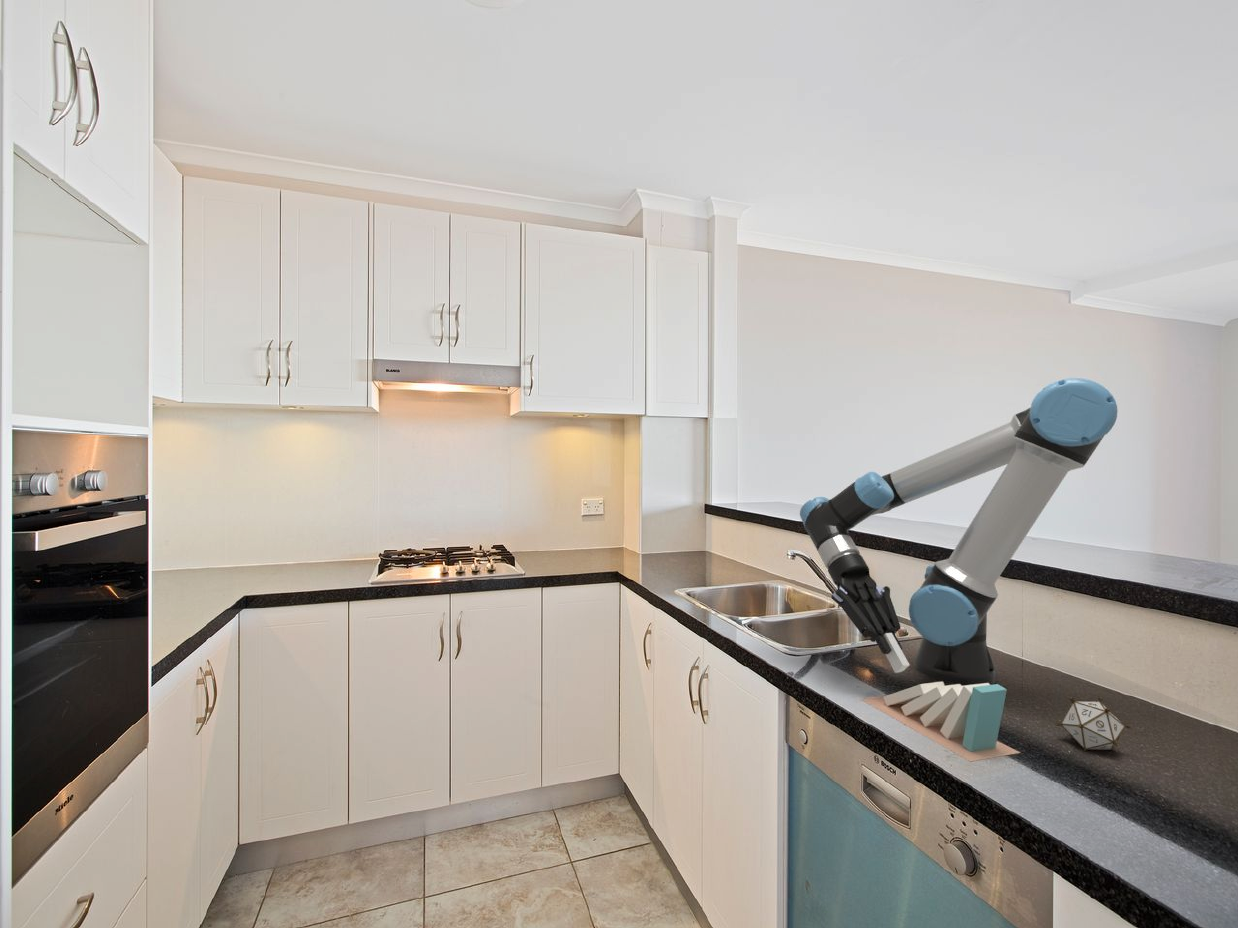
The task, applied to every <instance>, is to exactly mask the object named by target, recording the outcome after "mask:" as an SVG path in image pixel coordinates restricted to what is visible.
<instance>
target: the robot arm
mask: <svg viewBox="0 0 1238 928" xmlns="http://www.w3.org/2000/svg"><path fill="white" fill-rule="evenodd" d="M1030 405H1031V406H1030V407H1029V408H1027V409H1024V410H1023V411H1021V412H1018V413H1016V414H1014V415H1013V416H1012V418H1011V421H1010V422H1008V423H1005V424H1003V425H1001V426H999V427H996V428H994V429H991V430H988V431H986V432H984V433H982V434H979V435H977V436H974V437H972V438H970V439H967V440H965V441H963V442H960V443H958V444H956V445H954V446H951V447H949V448H946V449H944V450H941V451H939V452H937V453H935V454H933V455H930V456H928V457H925V458H923V459H920V460H918V461H916V462H913V463H911V464H908V465H905V466H903V467H902V468H899V469H897V470H894V471H892V472H890V473H888V474H885V475H882V476H881V475H880V474H878V473H877V472H875V471H868V472H867V473H866V474H864V475H862V476H860V477H858V478H857V479H856V480H855V481H854V482H852V483H850V485H849V486H847V487H846V488H844V489H843V490H841V492H839V493H838V494H837V495H835V496H834V497H832V498H831V499H830V498H828V497H824V496H819V497H818V496H817V497H813V499H809V500H808V501H807V500H806V502H805V503H803V505H802V506H801V507H800V510H799V517H800V519H801V522H802V524H803V526H804V529H805V531H806V533H807V534H808V536H809V537H810V539H811V542H812V543H813V546H814V547H815V549H816V551H817V552H818V555H819V557H820V558H821V561H822V562H823V565H824V567H825V568H826V569H827V573H828V574H829V577H830V579H831V580H832V582H833V584H834V585H835V586H836V590H835V591H834V593H832V595H831V600H833V602H835V603H836V604H838V606H840V608H841V609H842V610H843V612H844V613H845V615H846V616H847V617H848V618H849V620H850V621H851V622H852V623H853V625H854V626H855V628H857V630H858V631H859V632H860V635H862V636H863V637H864V638H868V637H869V641H871V642H873V643H874V642H875V643H876V644H877V646H878V648H879V650H880V652H881V654H883V655H885V657H886V658H887V660H888V662H889V664H890V666H891V668H892V669H893V672H894V673H896V674H897V673H903V671H905V670H906V669H907V668H909V666H910V663H909V661H908V659H907V658H906V656H905V654H904V651H903V646H902V644H901V642H900V641H899V639H898V637H897V635H896V634H897V633H898V631H899V630H901V628H902V626H901V623H900V621H899V618H898V616H897V613H896V610H895V607H894V604H893V601H892V599H891V588H890V587H889V586H886V585H885V586H884V587H882V586H879V585H877V582H876V581H875V579H873V578H872V577H871V575H870V568H869V566H868V565H867V562H866V561H865V559H864V558H863V556H862V555H861V552H860V550H859V549H858V547H857V545H856V544H855V542H854V540H853V538H852V537H851V535H850V533H849V531H850V530H851V529H853V528H854V527H856V526H858V524H860V523H862V522H863V521H864V520H866V519H868V518H870V517H871V516H874V515H879V514H884V513H887V512H890V511H892V510H893V509H896V508H898V507H900V506H903V505H905V504H908V503H910V502H912V501H915V500H918V499H920V498H923V497H926V496H929V495H931V494H933V493H937V492H938V491H941V490H943V489H944V490H945V489H947V488H949V487H951V486H954V485H957V484H959V483H962V482H965V481H967V480H970V479H973V478H975V477H977V476H980V475H982V474H985V473H988V472H990V471H993V470H996V469H998V468H1001V467H1005V468H1004V469H1003V471H1002V472H1001V474H1000V476H999V478H998V479H997V480H996V482H995V484H994V485H993V486H992V489H991V490H990V492H989V494H988V495H987V496H986V498H985V500H984V501H983V503H982V505H981V506H980V507H979V510H978V511H977V513H976V514H975V516H974V517H973V519H972V521H971V522H970V524H969V525H968V527H967V529H966V530H965V532H964V534H963V535H962V537H961V538H960V540H959V541H958V543H957V545H956V546H955V548H954V550H953V551H952V553H951V554H950V556H949V558H946V559H943V560H938V561H936V562H935V563H934V565H928V566H927V567H926V568H925V574H924V581H923V582H922V584H921V586H920V588H918V589H917V590H916V591H915V592H914V593H913V594H912V596H911V598H910V600H909V604H908V616H909V619H910V621H911V624H912V626H913V628H914V629H915V631H916V632H917V633H918V634H919V635H920V636H921V637H922V639H921V642H920V644H919V646H918V649H917V652H916V654H915V656H914V665H913V666H914V668H915V670H916V671H918V673H920V674H922V675H924V676H927V677H929V678H931V679H934V680H938V681H940V682H946V683H950V684H954V685H956V684H961V686H965V685H973V684H983V683H989V684H990V685H994V684H995V683H996V670H995V669H996V668H995V666H994V663H993V660H992V657H991V654H990V650H989V647H988V644H987V632H988V631H987V623H988V621H987V620H988V618H987V616H988V611H989V610H990V608H991V607H992V606H993V604H994V603H995V601H996V600H997V598H998V596H999V593H998V591H997V588H996V582H997V581H998V579H999V578H1000V576H1002V573H1003V571H1004V570H1005V568H1006V567H1007V565H1008V564H1009V562H1010V561H1011V560H1012V558H1013V557H1014V555H1015V553H1016V552H1017V551H1018V549H1019V547H1020V545H1021V544H1022V543H1023V541H1024V540H1025V539H1026V537H1027V535H1028V534H1029V532H1030V531H1031V529H1032V527H1033V526H1034V525H1035V523H1036V521H1037V520H1038V519H1039V517H1040V515H1041V514H1042V512H1043V511H1044V510H1045V508H1046V506H1047V505H1048V503H1049V501H1050V500H1051V498H1052V497H1053V495H1054V494H1055V493H1056V491H1057V489H1058V488H1059V487H1060V485H1061V483H1062V482H1063V480H1064V478H1065V477H1066V476H1067V474H1068V473H1069V472H1071V471H1074V470H1077V469H1081V468H1084V467H1085V465H1087V462H1088V461H1089V460H1090V459H1091V456H1092V455H1093V454H1094V452H1095V450H1096V449H1097V448H1098V446H1099V444H1101V441H1102V440H1103V438H1104V437H1105V436H1106V435H1108V433H1110V432H1111V430H1112V429H1113V427H1114V425H1115V424H1116V421H1117V418H1118V404H1117V402H1116V399H1115V397H1114V396H1113V394H1112V393H1111V392H1110V391H1109V390H1108V389H1107V388H1106V387H1105V386H1104V385H1101V384H1100V383H1098V382H1096V381H1093V380H1090V379H1088V378H1087V379H1086V378H1085V379H1084V378H1077V377H1071V378H1065V379H1060V380H1057V381H1054V382H1052V383H1049V384H1048V385H1047V386H1045V387H1043V388H1042V389H1041V390H1040V391H1038V393H1037V394H1036V395H1035V396H1034V398H1033V399H1032V401H1031V403H1030Z"/></svg>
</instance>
